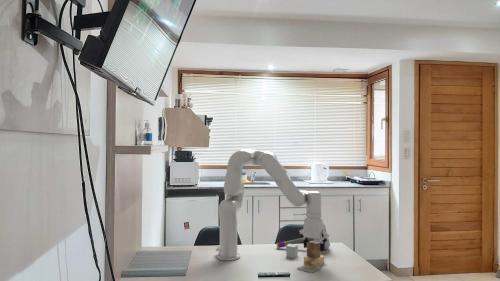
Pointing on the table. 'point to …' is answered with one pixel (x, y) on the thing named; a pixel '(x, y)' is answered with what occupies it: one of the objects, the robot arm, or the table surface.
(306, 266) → the swatch tile
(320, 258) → the oak base
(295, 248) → the grey block
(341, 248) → the table surface
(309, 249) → the walnut block
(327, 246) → the hammer
